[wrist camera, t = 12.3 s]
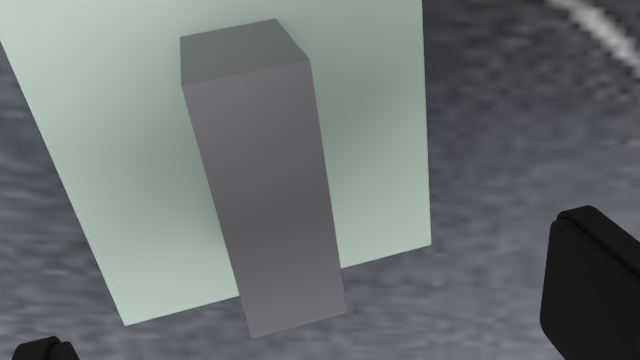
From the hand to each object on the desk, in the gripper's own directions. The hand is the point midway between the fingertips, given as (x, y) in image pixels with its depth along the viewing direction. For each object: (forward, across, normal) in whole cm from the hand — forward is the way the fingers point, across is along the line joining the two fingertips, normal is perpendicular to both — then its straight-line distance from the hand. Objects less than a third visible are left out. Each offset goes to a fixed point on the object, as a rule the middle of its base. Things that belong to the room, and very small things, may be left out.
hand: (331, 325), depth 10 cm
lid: (+10, 0, 0) cm, 10 cm away
